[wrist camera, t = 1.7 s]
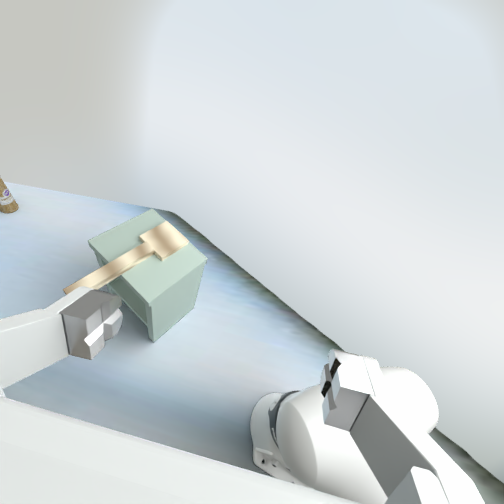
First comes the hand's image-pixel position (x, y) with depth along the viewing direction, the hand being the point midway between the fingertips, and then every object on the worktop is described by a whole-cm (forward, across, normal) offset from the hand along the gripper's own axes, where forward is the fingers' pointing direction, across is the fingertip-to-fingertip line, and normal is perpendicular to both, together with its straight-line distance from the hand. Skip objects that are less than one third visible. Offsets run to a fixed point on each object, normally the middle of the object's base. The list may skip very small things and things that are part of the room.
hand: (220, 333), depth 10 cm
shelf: (+48, -29, -40) cm, 69 cm away
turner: (+33, -25, -19) cm, 46 cm away
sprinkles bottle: (+55, -79, -25) cm, 100 cm away
